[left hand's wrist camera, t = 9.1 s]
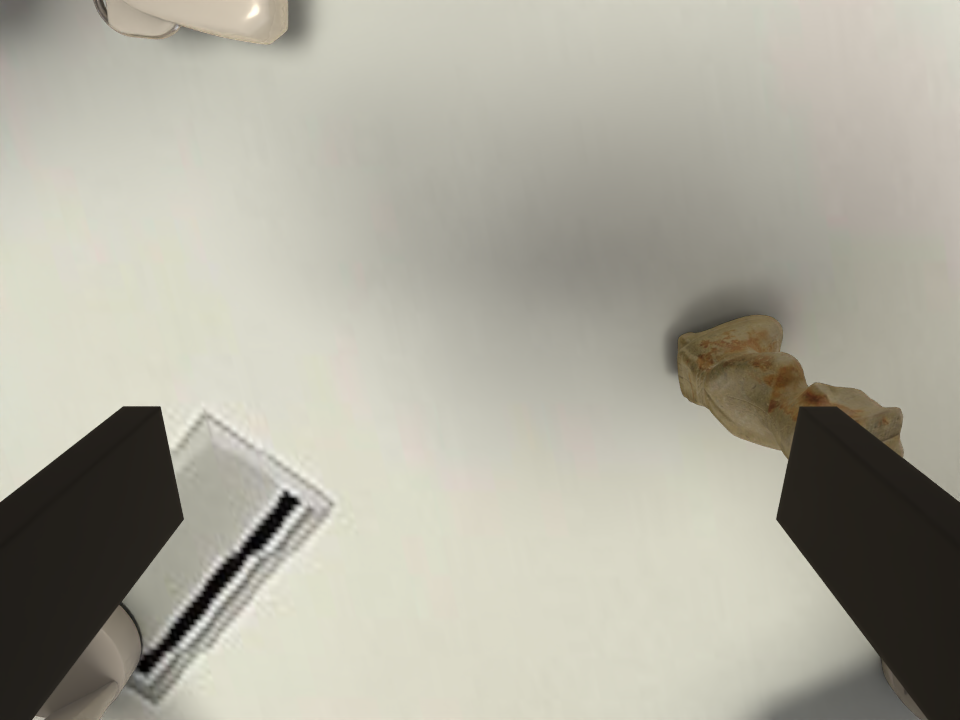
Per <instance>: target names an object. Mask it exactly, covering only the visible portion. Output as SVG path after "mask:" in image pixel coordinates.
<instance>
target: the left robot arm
mask: <svg viewBox="0 0 960 720" xmlns="http://www.w3.org/2000/svg"><path fill="white" fill-rule="evenodd" d="M183 520H184V518H183V513H182V508H181V503H180V498H179V493H178V489H177V484H176V479H175V474H174V469H173V464H172V460H171V455H170V450H169V445H168V440H167V435H166V431H165V426H164V421H163V416H162V411H161V406H123V407H122V408H121V409H119V410H118V411H117V412H115V413H114V414H113V415H112V416H110V417H109V418H108V419H106V420H105V421H104V422H103V423H101V424H100V425H99V426H98V427H96V428H95V429H94V430H92V431H91V432H90V433H89V434H87V435H86V436H85V437H83V438H82V439H81V440H80V441H78V442H77V443H76V444H74V445H73V446H72V447H71V448H69V449H68V450H67V451H65V452H64V453H63V454H62V455H60V456H59V457H58V458H56V459H55V460H54V461H53V462H51V463H50V464H49V465H48V466H46V467H45V468H44V469H42V470H41V471H40V472H39V473H37V474H36V475H35V476H33V477H32V478H31V479H30V480H28V481H27V482H26V483H24V484H23V485H22V486H21V487H19V488H18V489H17V490H15V491H14V492H13V493H12V494H10V495H9V496H8V497H6V498H5V499H4V500H3V501H1V502H0V720H32V719H33V718H34V717H35V715H36V714H37V713H38V711H39V710H40V709H41V707H42V706H43V705H44V703H45V702H46V701H47V699H48V698H49V697H50V695H51V694H52V693H53V691H54V690H55V689H56V687H57V686H58V685H59V684H60V682H61V681H62V680H63V678H64V677H65V676H66V674H67V673H68V672H69V670H70V669H71V668H72V666H73V665H74V664H75V662H76V661H77V660H78V658H79V657H80V656H81V654H82V653H83V652H84V651H85V649H86V648H87V647H88V645H89V644H90V643H91V641H92V640H93V639H94V637H95V636H96V635H97V633H98V632H99V631H100V629H101V628H102V627H103V625H104V624H105V623H106V621H107V620H108V619H109V617H110V616H111V615H112V614H113V612H114V611H115V610H116V608H117V607H118V606H119V604H120V603H121V602H122V600H123V599H124V598H125V596H126V595H127V594H128V592H129V591H130V590H131V588H132V587H133V586H134V584H135V583H136V582H137V581H138V579H139V578H140V577H141V575H142V574H143V573H144V571H145V570H146V569H147V567H148V566H149V565H150V563H151V562H152V561H153V559H154V558H155V557H156V555H157V554H158V553H159V551H160V550H161V549H162V547H163V546H164V545H165V544H166V542H167V541H168V540H169V538H170V537H171V536H172V534H173V533H174V532H175V530H176V529H177V528H178V526H179V525H180V524H181V522H182V521H183ZM776 520H777V521H778V522H779V524H780V525H781V526H782V528H783V529H784V530H785V532H786V533H787V534H788V536H789V537H790V538H791V540H792V541H793V542H794V544H795V545H796V546H797V547H798V549H799V550H800V551H801V553H802V554H803V555H804V557H805V558H806V559H807V561H808V562H809V563H810V565H811V566H812V567H813V569H814V570H815V571H816V573H817V574H818V575H819V577H820V578H821V579H822V581H823V582H824V583H825V584H826V586H827V587H828V588H829V590H830V591H831V592H832V594H833V595H834V596H835V598H836V599H837V600H838V602H839V603H840V604H841V606H842V607H843V608H844V610H845V611H846V612H847V614H848V615H849V616H850V617H851V619H852V620H853V621H854V623H855V624H856V625H857V627H858V628H859V629H860V631H861V632H862V633H863V635H864V636H865V637H866V639H867V640H868V641H869V643H870V644H871V645H872V647H873V648H874V649H875V651H876V652H877V653H878V654H879V656H880V657H881V658H882V667H883V672H884V675H885V677H886V680H887V682H888V683H889V685H890V686H891V688H892V689H893V690H894V692H895V693H896V694H897V696H898V697H899V698H900V700H901V701H902V702H903V703H904V704H905V705H906V706H907V707H908V708H909V709H910V710H911V711H912V712H913V713H914V714H915V715H916V716H917V717H918V718H920V719H921V720H960V502H959V501H957V500H956V499H955V498H954V497H952V496H951V495H950V494H948V493H947V492H946V491H945V490H943V489H942V488H941V487H939V486H938V485H937V484H936V483H934V482H933V481H932V480H930V479H929V478H928V477H927V476H925V475H924V474H923V473H921V472H920V471H919V470H918V469H916V468H915V467H914V466H912V465H911V464H910V463H909V462H907V461H906V460H905V459H904V458H902V457H901V456H900V455H898V454H897V453H896V452H895V451H893V450H892V449H891V448H889V447H888V446H887V445H886V444H884V443H883V442H882V441H880V440H879V439H878V438H877V437H875V436H874V435H873V434H871V433H870V432H869V431H868V430H866V429H865V428H864V427H862V426H861V425H860V424H859V423H857V422H856V421H855V420H854V419H852V418H851V417H850V416H848V415H847V414H846V413H845V412H843V411H842V410H841V409H839V408H838V407H837V406H799V411H798V416H797V421H796V426H795V431H794V435H793V440H792V445H791V450H790V455H789V460H788V464H787V469H786V474H785V479H784V484H783V489H782V493H781V498H780V503H779V508H778V513H777V518H776Z"/></svg>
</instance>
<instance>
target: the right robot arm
mask: <svg viewBox="0 0 960 720" xmlns="http://www.w3.org/2000/svg"><path fill="white" fill-rule="evenodd" d="M93 1H94V4H95V6H96V9H97V11H98V13H99V14H100V16H101V17H102V19H103V20H104V21H105V22H106V23H107V24H108V25H109V26H110V27H111V28H112V29H114V30H115V31H117V32H118V33H120V34H123V35H125V36H129V37H138V38H148V39H164V38H168V37H170V36H172V35H173V34H175V33H176V32H177V31H178V30H179V29H180V27H181V26H183V27H187V28H190V29H194V30H197V31H200V32H204V33H208V34H211V35H215V36H220V37H224V38H229V39H234V40H239V41H245V42H251V43H257V44H266V45H268V44H271V43H273V42H274V41H275V40H277V39H278V38H279V37H280V36H282V35H283V34H284V33H285V32H286V31H287V29H288V0H106V7H107V9H106V7H105V5H104V2H103V0H93Z"/></svg>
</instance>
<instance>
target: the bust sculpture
mask: <svg viewBox="0 0 960 720" xmlns="http://www.w3.org/2000/svg"><path fill="white" fill-rule="evenodd" d="M140 655H141V642H140V637H139V634H138V631H137V628H136V626H135V624H134V623H133V621H132V619H131V618H130V616H129V615H128V614H127V613H126V611H125V610H124V609H123V608H122V607H121V606H120V605H119V606H118V607H117V608H116V610H115V611H114V612H113V614H112V615H111V616H110V617H109V619H108V620H107V621H106V623H105V624H104V625H103V627H102V628H101V629H100V631H99V632H98V633H97V635H96V636H95V637H94V639H93V640H92V641H91V643H90V644H89V645H88V647H87V648H86V649H85V651H84V652H83V653H82V654H81V656H80V657H79V658H78V660H77V661H76V662H75V664H74V665H73V666H72V668H71V669H70V670H69V672H68V673H67V674H66V676H65V677H64V678H63V680H62V681H61V682H60V684H59V685H58V686H57V687H56V689H55V690H54V691H53V693H52V694H51V695H50V697H49V698H48V699H47V701H46V702H45V703H44V705H43V706H42V707H41V709H40V710H39V711H38V713H37V714H36V715H35V716H39V717H44V718H45V719H44V720H99V719H100V718H101V716H102V715H103V713H104V712H105V711H106V709H107V708H108V706H109V705H110V704H111V703H112V702H113V701H114V700H115V699H116V698H117V696H118V695H119V693H120V692H121V690H122V689H123V687H124V686H125V684H126V683H127V681H128V679H129V678H130V676H131V675H132V673H133V672H134V670H135V669H136V667H137V665H138V662H139V659H140Z"/></svg>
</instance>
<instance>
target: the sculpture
mask: <svg viewBox="0 0 960 720" xmlns="http://www.w3.org/2000/svg"><path fill="white" fill-rule="evenodd" d="M782 338H783V330H782V327H781V325H780V323H779V322H778V321H777V320H776V319H774V318H772V317H770V316H766V315H750V316H745V317H741V318H738V319H735V320H732V321H729V322H726V323H723V324H721V325H718V326H716V327H714V328H711V329H708V330H706V331H702V332H698V333H693V332H688V333H685V334H683V335H681V336H680V337H679V339H678V355H677V364H678V376H679V383H680V388H681V391H682V394H683V396H684V397H686V398H688V400H689V401H691V402H693V403H695V404H697V405H701V406H705V407H706V408H708V409H709V410H710V411H711V412H712V414H713V415H714V416H715V417H716V418H717V419H718V420H719V421H720V422H721V424H722V425H723V426H724V427H725V428H726V429H727V430H728V431H729V432H730V433H732V434H733V435H735V436H737V437H739V438H741V439H744V440H747V441H750V442H753V443H756V444H759V445H762V446H765V447H769V448H773V449H777V450H782V452H783V454H784V455H785V456H786V457H787V458H788V460H789V455H790V450H791V445H792V440H793V435H794V431H795V426H796V421H797V416H798V411H799V406H837V407H838V408H839V409H841V410H842V411H843V412H845V413H846V414H847V415H848V416H850V417H851V418H852V419H854V420H855V421H856V422H857V423H859V424H860V425H861V426H862V427H864V428H865V429H866V430H868V431H869V432H870V433H871V434H873V435H874V436H875V437H877V438H878V439H879V440H880V441H882V442H883V443H884V444H886V445H887V446H888V447H889V448H891V449H892V450H893V451H895V452H896V453H897V454H898V455H900V456H901V457H902V458H903V454H904V451H903V447H902V444H901V441H900V431H901V427H902V421H903V415H902V411H901V409H900V408H897V407H889V408H884V407H882V406H880V405H879V404H878V403H877V402H875V401H874V400H872V399H870V398H869V397H868V396H867V395H866V394H865V393H864V392H862V391H861V390H858V389H854V388H845V387H834V386H830V385H827V384H822V383H813V384H812V385H811V386H809V387H808V385H807V384H806V380H805V377H804V373H803V369H802V367H801V365H800V363H799V362H798V360H797V359H796V358H794V357H793V356H791V355H789V354H787V353H783V352H780V346H781V342H782Z"/></svg>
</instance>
